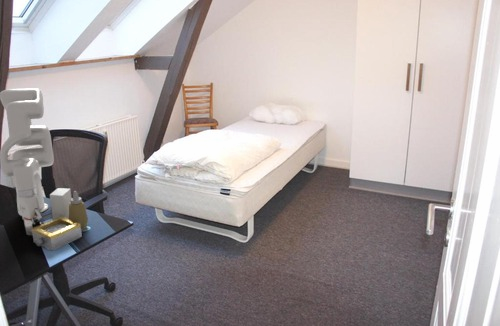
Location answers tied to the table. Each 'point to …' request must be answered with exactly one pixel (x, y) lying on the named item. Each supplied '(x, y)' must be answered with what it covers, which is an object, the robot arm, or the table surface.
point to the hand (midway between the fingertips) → (32, 228)
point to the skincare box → (60, 202)
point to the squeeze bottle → (78, 210)
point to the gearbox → (56, 233)
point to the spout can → (29, 225)
